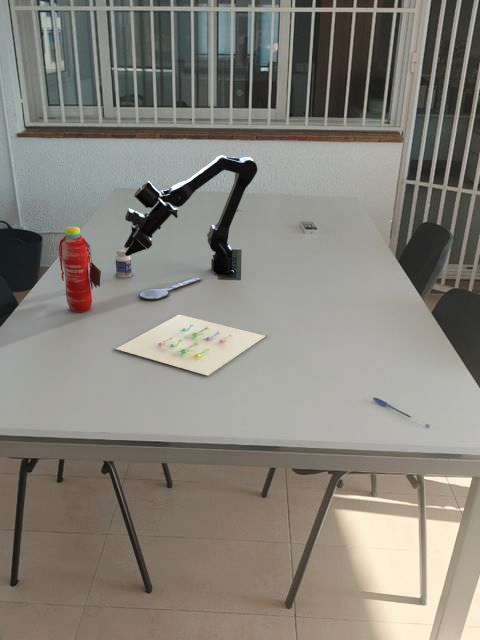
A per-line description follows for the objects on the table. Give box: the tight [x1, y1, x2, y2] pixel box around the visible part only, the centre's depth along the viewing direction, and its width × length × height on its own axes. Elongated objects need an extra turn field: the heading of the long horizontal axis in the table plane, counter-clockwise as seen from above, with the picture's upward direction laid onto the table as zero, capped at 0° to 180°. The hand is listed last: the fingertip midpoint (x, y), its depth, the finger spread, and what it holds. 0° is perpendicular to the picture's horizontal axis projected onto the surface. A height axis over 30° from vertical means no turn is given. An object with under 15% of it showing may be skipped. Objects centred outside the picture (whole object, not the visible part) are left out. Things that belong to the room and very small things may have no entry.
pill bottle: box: [115, 248, 133, 279], centre depth 242 cm, size 5×5×9 cm
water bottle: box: [58, 226, 102, 313], centre depth 210 cm, size 12×8×25 cm, turn 94°
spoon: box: [139, 277, 201, 302], centre depth 232 cm, size 26×8×1 cm, turn 139°
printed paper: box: [115, 314, 266, 377], centre depth 194 cm, size 30×30×2 cm
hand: (125, 251), depth 240 cm, fingers open, 9 cm apart
